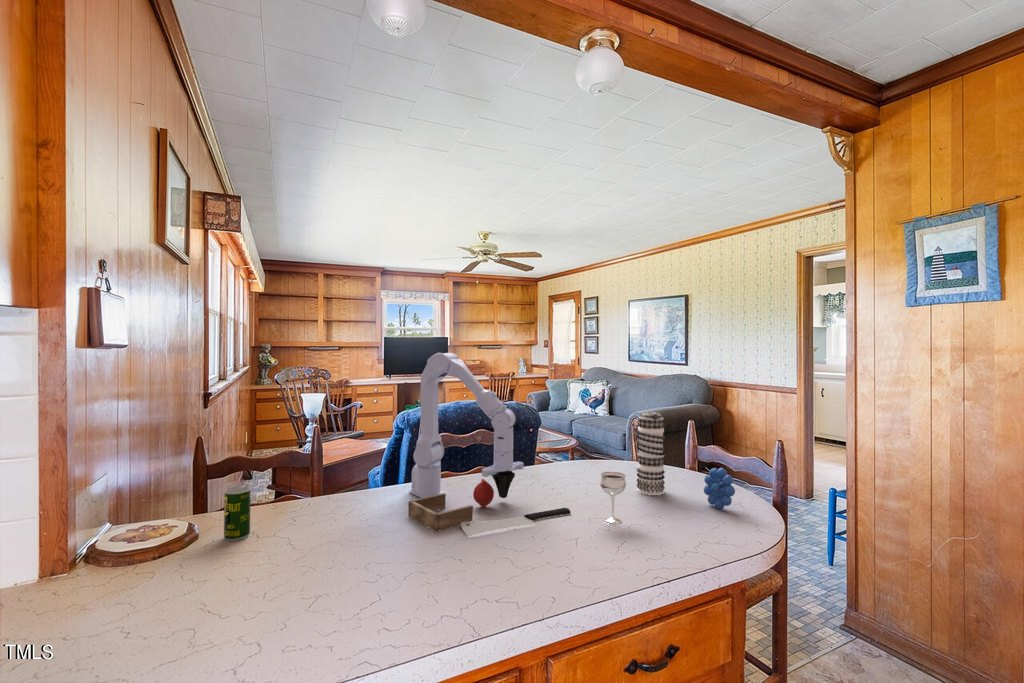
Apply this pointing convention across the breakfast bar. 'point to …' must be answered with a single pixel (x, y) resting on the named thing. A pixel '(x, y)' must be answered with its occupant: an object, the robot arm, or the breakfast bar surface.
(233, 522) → the green fruit can
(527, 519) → the kitchen cleaver
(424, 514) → the box
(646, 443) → the striped tall cylinder
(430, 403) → the robot arm
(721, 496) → the grapes
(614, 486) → the wineglass
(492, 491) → the onion
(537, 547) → the breakfast bar surface
